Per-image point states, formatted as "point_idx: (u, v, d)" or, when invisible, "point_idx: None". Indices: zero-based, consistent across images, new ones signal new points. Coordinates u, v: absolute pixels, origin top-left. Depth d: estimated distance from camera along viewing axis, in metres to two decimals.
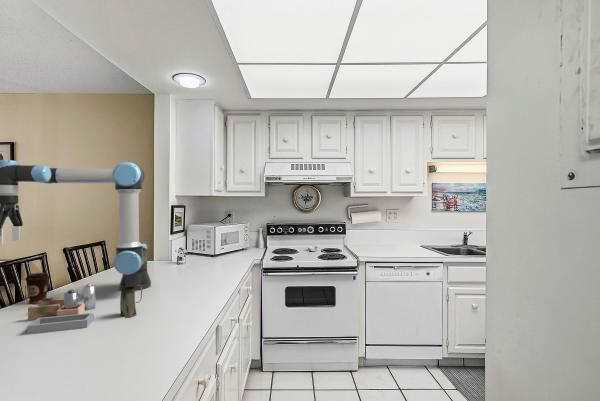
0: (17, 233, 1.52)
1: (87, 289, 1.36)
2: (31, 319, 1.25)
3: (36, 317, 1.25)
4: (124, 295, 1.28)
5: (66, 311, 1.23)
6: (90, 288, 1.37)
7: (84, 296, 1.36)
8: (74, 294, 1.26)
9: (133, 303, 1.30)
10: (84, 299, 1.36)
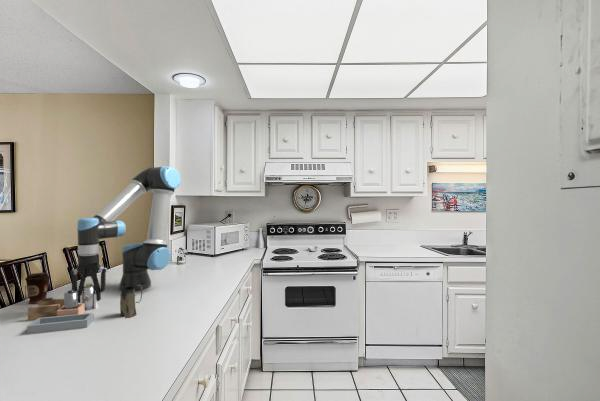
0: None
1: (87, 289, 1.36)
2: (31, 319, 1.25)
3: (36, 317, 1.25)
4: (124, 295, 1.28)
5: (66, 311, 1.23)
6: (90, 288, 1.37)
7: (84, 296, 1.36)
8: (74, 294, 1.26)
9: (133, 303, 1.30)
10: (84, 299, 1.36)
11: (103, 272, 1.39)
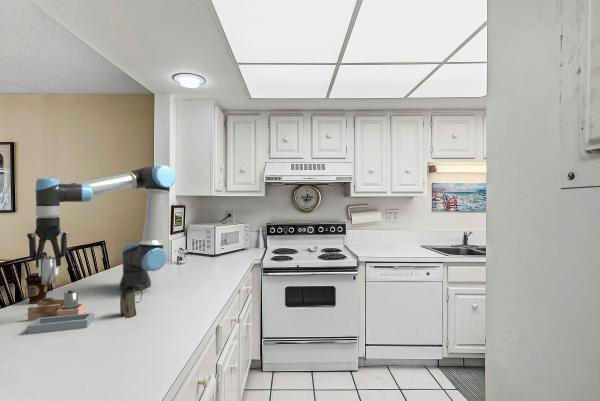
0: None
1: (46, 261, 1.28)
2: (31, 319, 1.25)
3: (36, 317, 1.25)
4: (124, 295, 1.28)
5: (66, 311, 1.23)
6: (49, 260, 1.29)
7: (42, 268, 1.28)
8: (74, 294, 1.26)
9: (133, 303, 1.30)
10: (42, 271, 1.28)
11: (63, 236, 1.31)
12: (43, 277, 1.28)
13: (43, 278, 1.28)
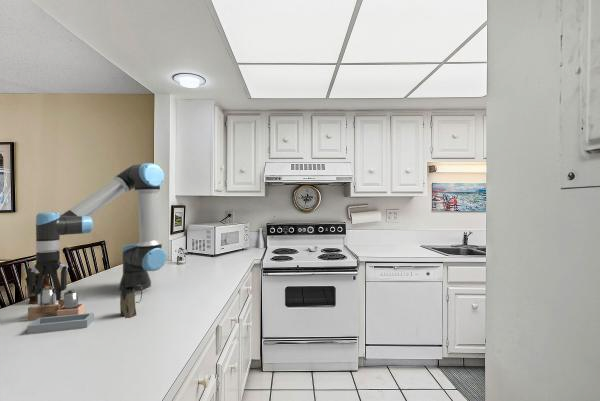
0: None
1: (45, 292, 1.28)
2: (31, 319, 1.25)
3: (36, 317, 1.25)
4: (124, 295, 1.28)
5: (66, 311, 1.23)
6: (49, 291, 1.29)
7: (42, 299, 1.28)
8: (74, 294, 1.26)
9: (133, 303, 1.30)
10: (42, 302, 1.28)
11: (63, 270, 1.31)
12: None
13: None
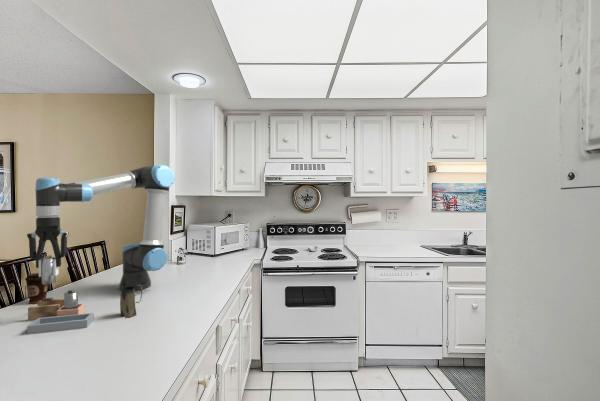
0: None
1: (46, 260, 1.27)
2: (31, 319, 1.25)
3: (36, 317, 1.25)
4: (124, 295, 1.28)
5: (66, 311, 1.23)
6: (49, 259, 1.28)
7: (42, 268, 1.28)
8: (74, 294, 1.26)
9: (133, 303, 1.30)
10: (42, 271, 1.28)
11: (63, 236, 1.30)
12: (43, 277, 1.28)
13: (43, 278, 1.28)
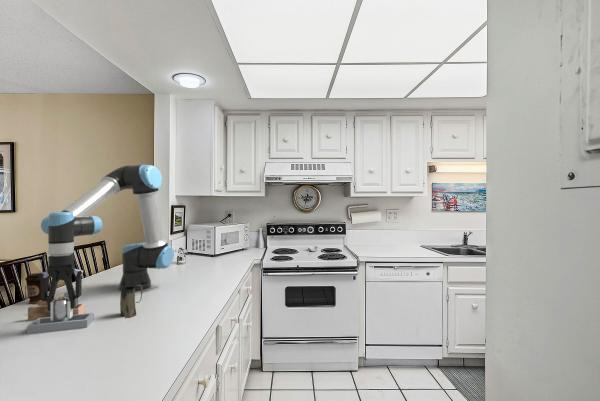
0: None
1: (59, 303, 1.16)
2: (31, 319, 1.25)
3: (36, 317, 1.25)
4: (124, 295, 1.28)
5: None
6: (63, 301, 1.17)
7: (55, 311, 1.16)
8: None
9: (133, 303, 1.30)
10: (55, 314, 1.16)
11: (78, 275, 1.19)
12: (56, 321, 1.16)
13: None
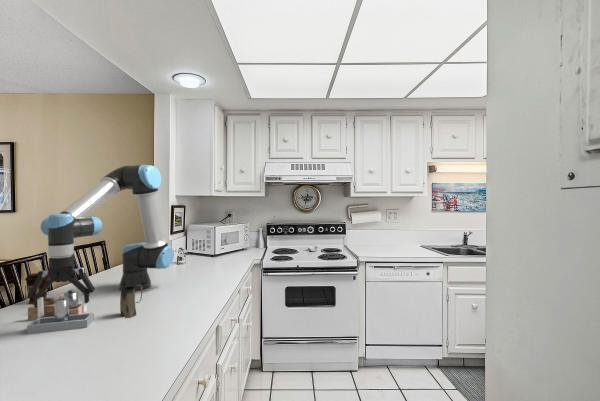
0: (82, 303, 1.20)
1: (59, 303, 1.17)
2: (31, 319, 1.25)
3: (36, 317, 1.25)
4: (124, 295, 1.28)
5: None
6: (63, 301, 1.17)
7: (55, 311, 1.17)
8: (74, 294, 1.26)
9: (133, 303, 1.30)
10: (55, 314, 1.17)
11: (81, 272, 1.19)
12: (56, 321, 1.17)
13: None
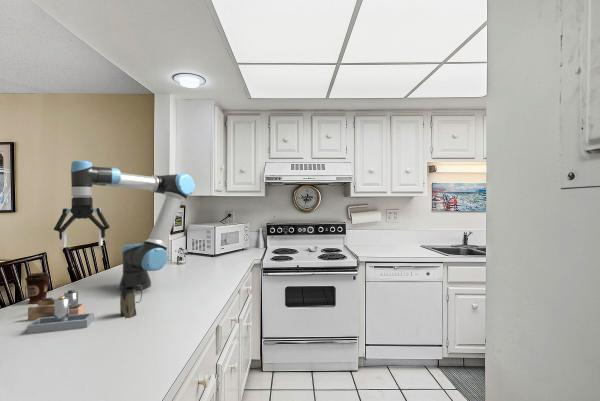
0: (99, 238, 1.41)
1: (59, 303, 1.17)
2: (31, 319, 1.25)
3: (36, 317, 1.25)
4: (124, 295, 1.28)
5: None
6: (63, 301, 1.17)
7: (55, 311, 1.17)
8: (74, 294, 1.26)
9: (133, 303, 1.30)
10: (55, 314, 1.17)
11: (98, 211, 1.41)
12: (56, 321, 1.17)
13: None
